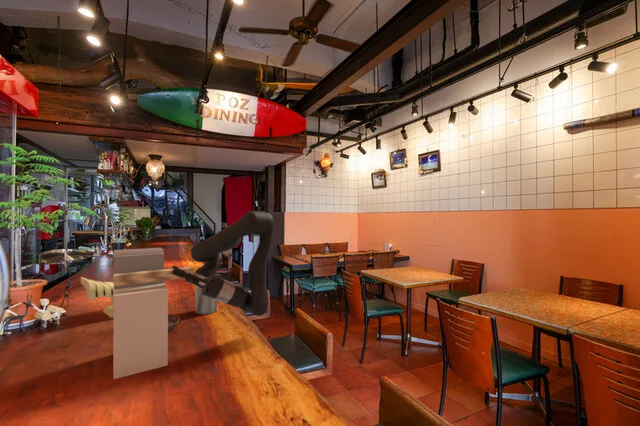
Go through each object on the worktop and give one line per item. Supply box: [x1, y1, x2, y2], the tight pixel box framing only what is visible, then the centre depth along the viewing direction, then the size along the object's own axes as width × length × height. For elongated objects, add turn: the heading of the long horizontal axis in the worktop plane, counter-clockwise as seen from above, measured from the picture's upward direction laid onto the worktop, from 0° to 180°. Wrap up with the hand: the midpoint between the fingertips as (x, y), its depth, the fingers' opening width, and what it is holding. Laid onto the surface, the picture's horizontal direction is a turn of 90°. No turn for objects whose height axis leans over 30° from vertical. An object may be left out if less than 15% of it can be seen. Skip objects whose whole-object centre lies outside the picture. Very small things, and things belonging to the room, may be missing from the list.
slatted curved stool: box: [80, 276, 166, 319], centre depth 142 cm, size 30×16×18 cm, turn 140°
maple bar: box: [113, 266, 194, 286], centre depth 96 cm, size 22×3×3 cm, turn 125°
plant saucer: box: [168, 314, 181, 332], centre depth 123 cm, size 18×18×3 cm
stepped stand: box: [112, 247, 169, 380], centre depth 97 cm, size 14×18×35 cm
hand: (172, 269), depth 99 cm, fingers closed on maple bar, 3 cm apart
